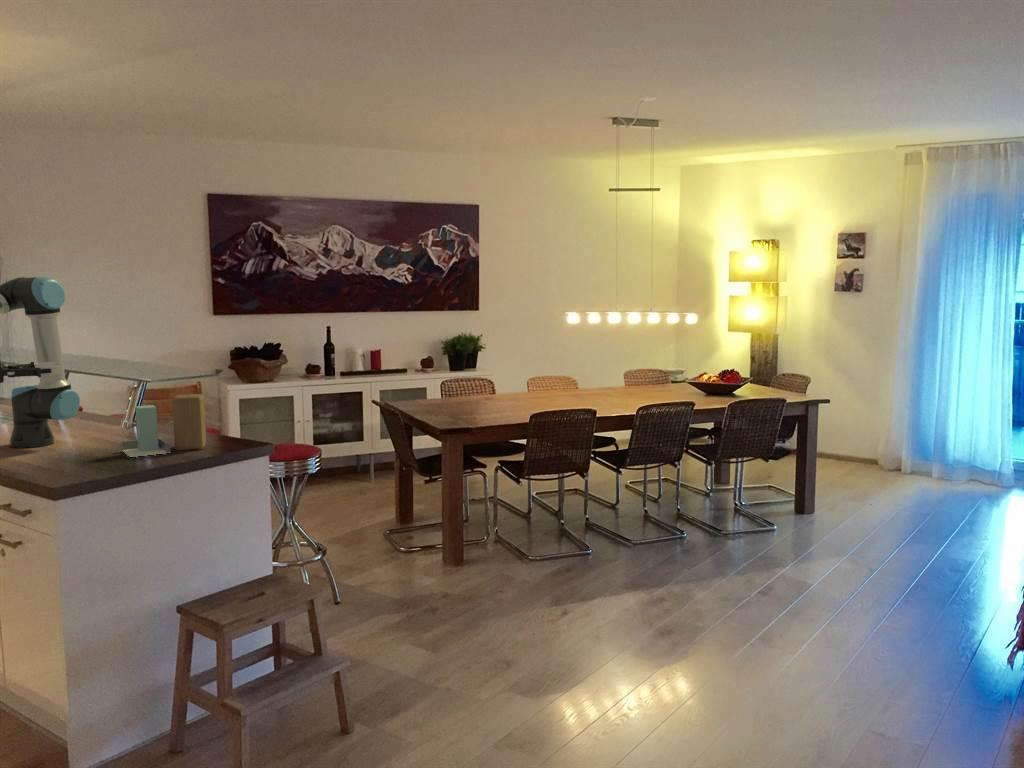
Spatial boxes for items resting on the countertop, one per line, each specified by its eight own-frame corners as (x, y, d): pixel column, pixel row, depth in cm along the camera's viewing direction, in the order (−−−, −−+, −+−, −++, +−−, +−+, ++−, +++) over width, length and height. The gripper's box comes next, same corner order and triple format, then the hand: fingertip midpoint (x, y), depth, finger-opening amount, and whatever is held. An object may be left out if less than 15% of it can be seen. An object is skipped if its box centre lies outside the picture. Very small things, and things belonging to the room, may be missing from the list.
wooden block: (174, 450, 319) (171, 398, 317) (179, 445, 329) (176, 394, 326) (202, 449, 321) (200, 397, 319) (206, 444, 331) (204, 393, 328)
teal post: (137, 448, 318) (135, 406, 316) (154, 447, 321) (152, 405, 319) (141, 451, 313) (138, 408, 311) (158, 449, 316) (156, 406, 314)
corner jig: (122, 451, 318) (121, 441, 317) (161, 447, 326) (161, 437, 325) (129, 458, 306) (128, 447, 306) (170, 453, 314) (169, 442, 314)
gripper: (-13, 379, 304) (53, 374, 317) (-6, 387, 284) (64, 381, 297) (-16, 358, 303) (51, 354, 316) (-9, 365, 283) (63, 360, 296)
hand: (58, 367), depth 306 cm, fingers open, 13 cm apart
